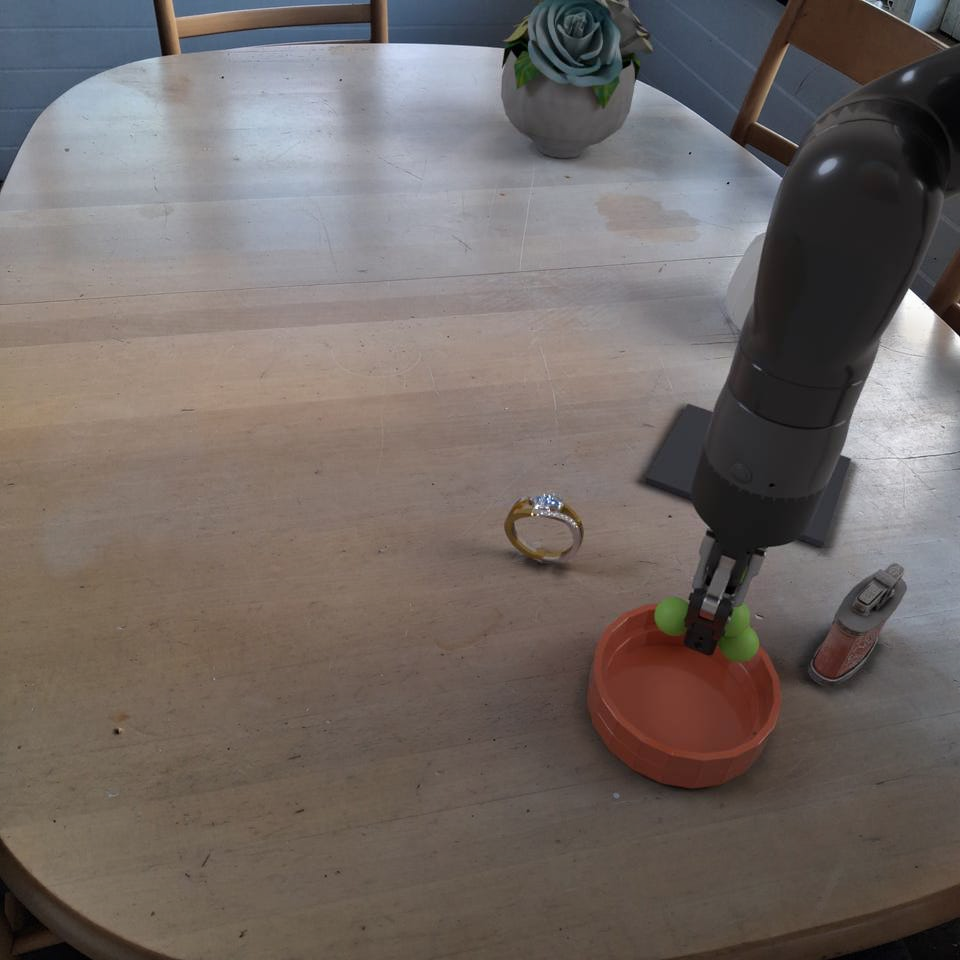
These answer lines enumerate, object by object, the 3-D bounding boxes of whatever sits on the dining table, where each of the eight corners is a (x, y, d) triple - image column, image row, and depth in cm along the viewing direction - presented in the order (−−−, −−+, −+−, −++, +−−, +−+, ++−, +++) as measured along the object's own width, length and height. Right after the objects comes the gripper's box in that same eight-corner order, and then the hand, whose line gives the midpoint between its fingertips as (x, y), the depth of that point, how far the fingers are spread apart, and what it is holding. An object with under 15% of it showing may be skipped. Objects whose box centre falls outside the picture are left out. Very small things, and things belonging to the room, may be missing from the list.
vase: (707, 343, 111) (734, 244, 101) (734, 291, 120) (761, 196, 111) (820, 377, 107) (859, 277, 98) (839, 321, 116) (876, 224, 107)
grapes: (757, 647, 66) (780, 593, 62) (747, 676, 64) (770, 622, 60) (658, 607, 68) (674, 552, 64) (646, 634, 66) (661, 579, 62)
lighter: (848, 619, 80) (890, 542, 73) (883, 643, 78) (929, 566, 71) (798, 668, 76) (837, 591, 69) (834, 695, 74) (877, 618, 67)
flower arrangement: (663, 153, 152) (695, -6, 135) (569, 196, 138) (592, 25, 121) (551, 108, 164) (568, -44, 147) (454, 143, 150) (461, -20, 133)
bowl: (783, 679, 75) (799, 646, 72) (738, 824, 65) (754, 793, 62) (622, 612, 79) (631, 578, 76) (558, 738, 69) (565, 706, 66)
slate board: (849, 463, 95) (851, 458, 95) (822, 548, 86) (825, 542, 85) (686, 408, 101) (687, 403, 100) (644, 482, 91) (646, 476, 91)
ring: (497, 559, 83) (504, 496, 77) (510, 536, 85) (517, 473, 79) (569, 585, 81) (581, 522, 75) (580, 561, 83) (592, 498, 78)
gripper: (807, 549, 48) (729, 728, 59) (854, 407, 57) (779, 586, 69) (671, 500, 50) (622, 681, 62) (738, 371, 59) (684, 550, 71)
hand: (705, 630), depth 65 cm, fingers closed on grapes, 2 cm apart
